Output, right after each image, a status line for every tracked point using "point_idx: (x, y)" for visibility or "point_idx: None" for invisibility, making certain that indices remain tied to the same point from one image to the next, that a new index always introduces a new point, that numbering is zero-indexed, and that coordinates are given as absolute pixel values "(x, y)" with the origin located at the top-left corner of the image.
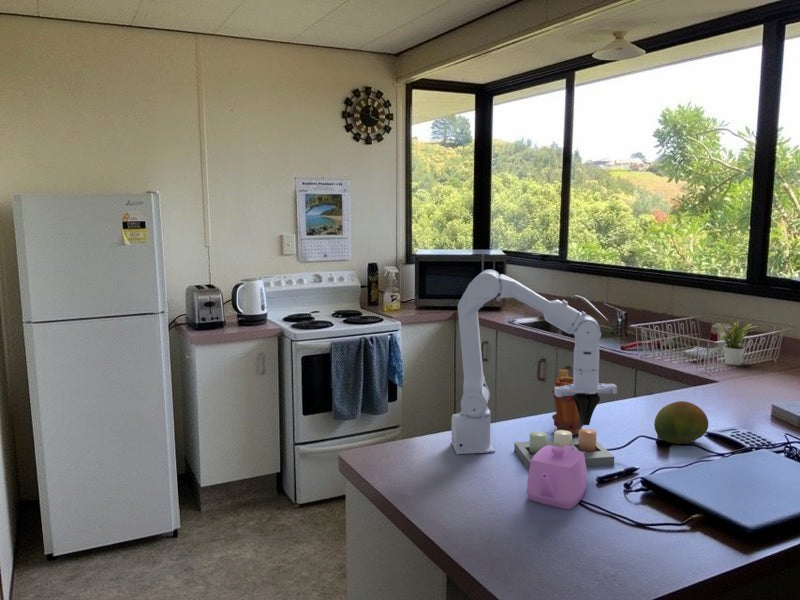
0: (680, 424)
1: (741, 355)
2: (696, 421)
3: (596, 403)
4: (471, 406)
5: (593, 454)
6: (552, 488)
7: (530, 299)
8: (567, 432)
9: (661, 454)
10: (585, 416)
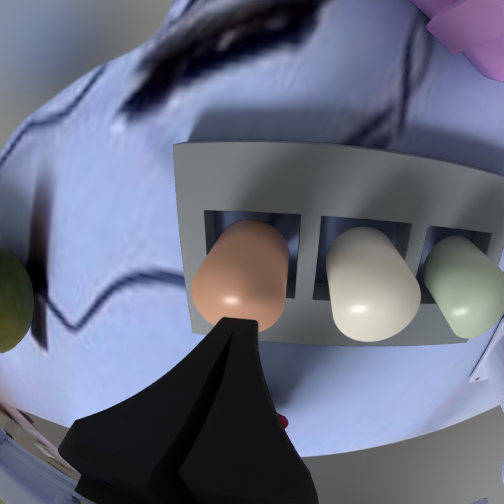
0: None
1: (6, 424)
2: None
3: (112, 415)
4: None
5: (254, 181)
6: None
7: None
8: (352, 309)
9: (43, 212)
10: (242, 356)
